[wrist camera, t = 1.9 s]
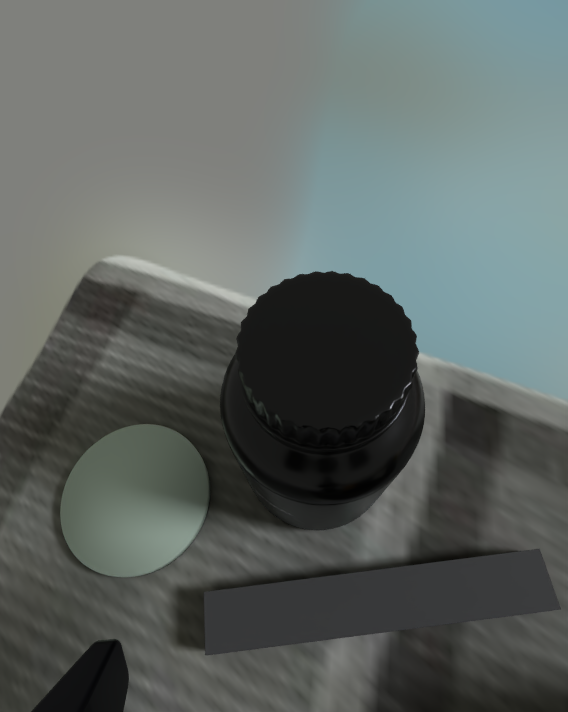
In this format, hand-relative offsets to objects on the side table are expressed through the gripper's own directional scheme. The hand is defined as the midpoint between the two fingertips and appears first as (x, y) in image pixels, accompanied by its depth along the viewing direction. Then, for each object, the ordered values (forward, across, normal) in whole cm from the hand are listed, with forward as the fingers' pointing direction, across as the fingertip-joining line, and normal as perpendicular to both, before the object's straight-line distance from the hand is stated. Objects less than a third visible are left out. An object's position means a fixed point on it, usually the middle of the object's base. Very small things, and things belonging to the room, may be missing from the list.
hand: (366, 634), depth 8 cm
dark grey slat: (+9, -2, +9) cm, 13 cm away
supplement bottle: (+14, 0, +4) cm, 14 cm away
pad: (+13, +9, +5) cm, 16 cm away
